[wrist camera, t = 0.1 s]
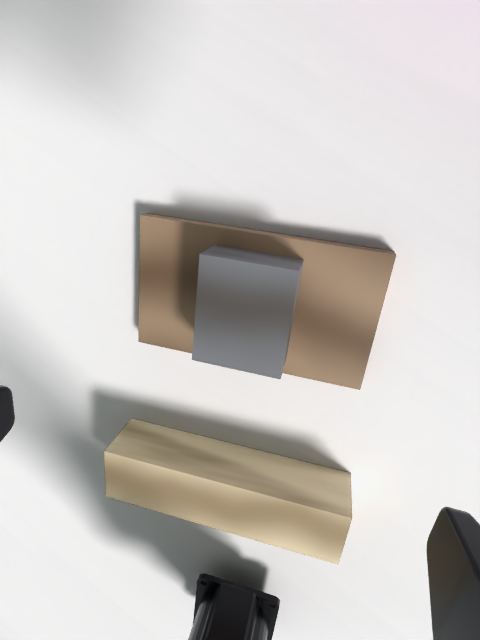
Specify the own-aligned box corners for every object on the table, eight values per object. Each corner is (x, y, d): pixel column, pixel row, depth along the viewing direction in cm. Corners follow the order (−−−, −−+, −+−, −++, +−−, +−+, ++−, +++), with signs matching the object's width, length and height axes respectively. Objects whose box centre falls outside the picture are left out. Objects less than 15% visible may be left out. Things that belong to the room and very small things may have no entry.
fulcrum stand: (359, 381, 24) (361, 414, 21) (145, 335, 26) (118, 358, 23) (393, 251, 21) (403, 266, 18) (147, 213, 23) (117, 220, 20)
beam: (338, 513, 28) (338, 564, 24) (133, 457, 31) (105, 496, 27) (350, 470, 27) (352, 518, 23) (133, 416, 29) (104, 451, 26)
